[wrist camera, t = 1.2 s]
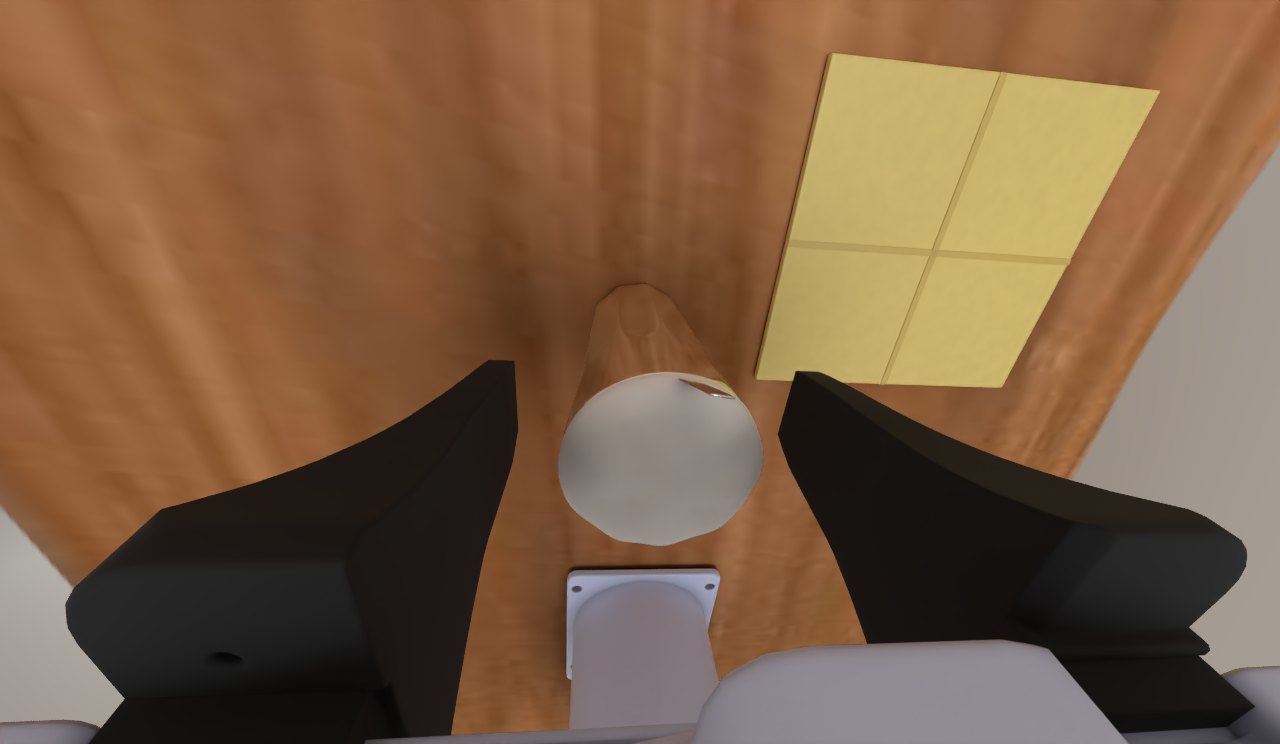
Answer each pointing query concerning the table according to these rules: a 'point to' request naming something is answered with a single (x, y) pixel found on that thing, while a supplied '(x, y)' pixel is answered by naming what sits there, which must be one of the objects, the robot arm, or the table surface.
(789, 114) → the table surface
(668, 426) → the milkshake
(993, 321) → the napkin
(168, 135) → the table surface
